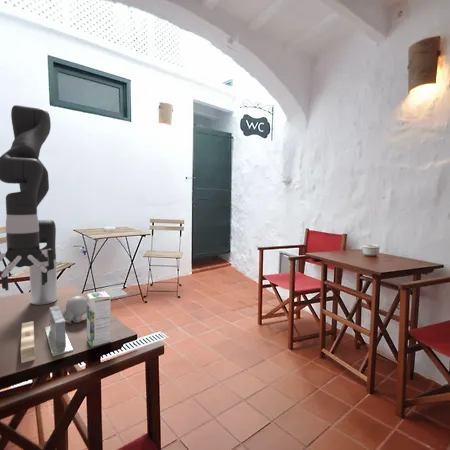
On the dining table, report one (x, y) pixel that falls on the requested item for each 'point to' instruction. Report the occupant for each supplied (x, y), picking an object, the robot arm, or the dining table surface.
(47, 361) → the dining table surface
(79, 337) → the dining table surface
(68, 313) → the chubby cartoon animal
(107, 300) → the syrup box
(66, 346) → the ridge
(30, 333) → the beam
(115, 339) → the dining table surface
